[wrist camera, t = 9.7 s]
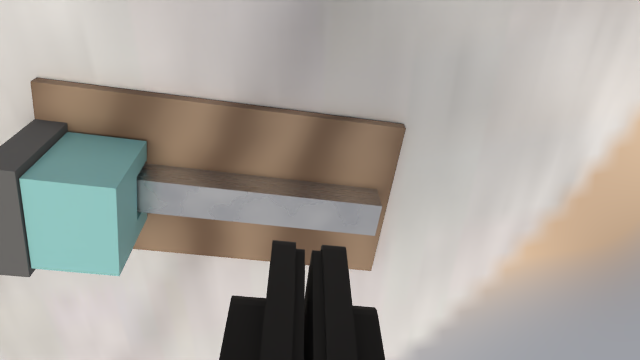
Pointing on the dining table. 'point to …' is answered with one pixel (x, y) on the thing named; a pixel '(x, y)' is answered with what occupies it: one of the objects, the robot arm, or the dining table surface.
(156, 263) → the dining table surface
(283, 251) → the robot arm
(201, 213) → the rail
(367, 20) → the dining table surface
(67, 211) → the slider
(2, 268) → the stop
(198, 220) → the board
